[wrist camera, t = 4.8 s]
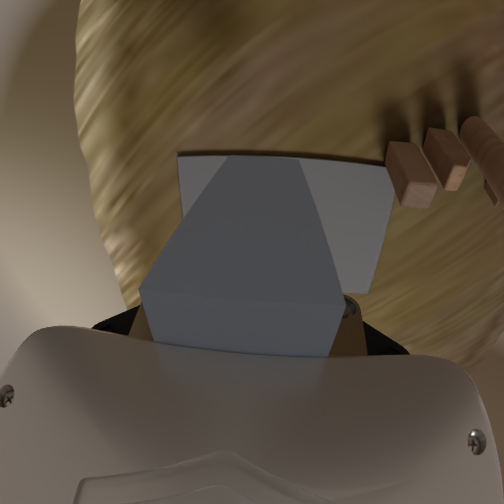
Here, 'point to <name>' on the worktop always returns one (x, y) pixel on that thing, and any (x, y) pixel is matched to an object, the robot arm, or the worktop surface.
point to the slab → (248, 267)
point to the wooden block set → (446, 163)
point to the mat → (325, 208)
